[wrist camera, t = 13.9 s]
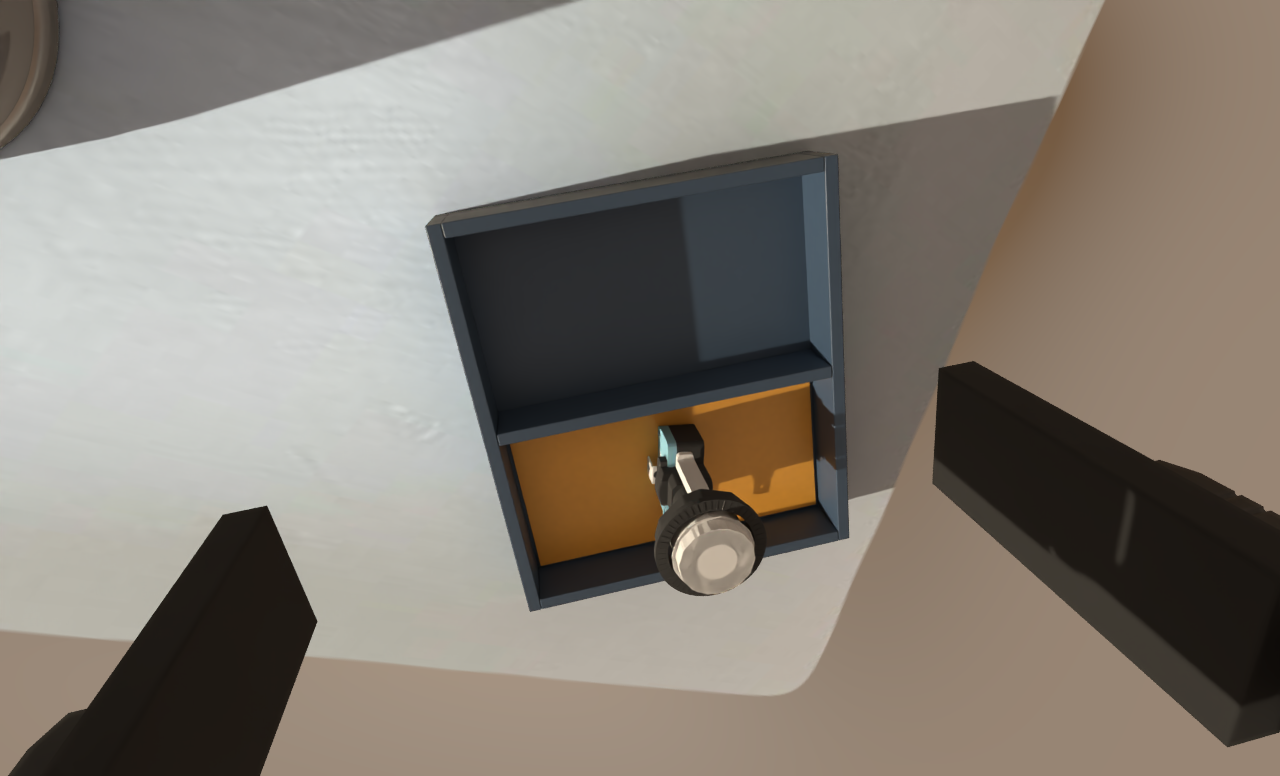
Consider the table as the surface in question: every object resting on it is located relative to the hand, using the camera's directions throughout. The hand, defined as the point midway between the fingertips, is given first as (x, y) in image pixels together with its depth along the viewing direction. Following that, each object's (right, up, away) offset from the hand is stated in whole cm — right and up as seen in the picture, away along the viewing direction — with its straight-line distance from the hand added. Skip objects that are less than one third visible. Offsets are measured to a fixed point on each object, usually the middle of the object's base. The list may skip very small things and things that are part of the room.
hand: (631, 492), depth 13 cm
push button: (+2, -3, +27) cm, 27 cm away
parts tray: (+1, +2, +25) cm, 25 cm away
